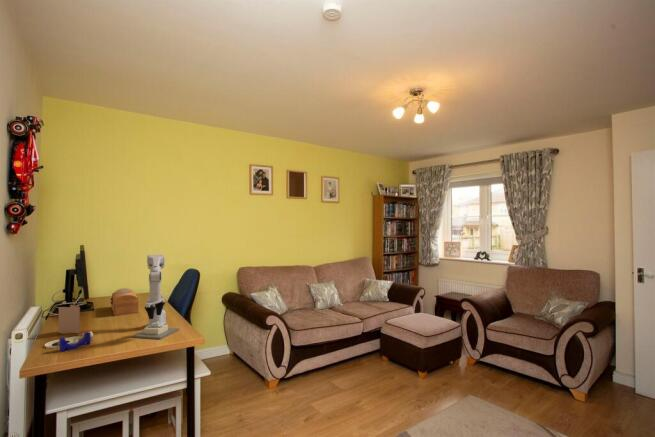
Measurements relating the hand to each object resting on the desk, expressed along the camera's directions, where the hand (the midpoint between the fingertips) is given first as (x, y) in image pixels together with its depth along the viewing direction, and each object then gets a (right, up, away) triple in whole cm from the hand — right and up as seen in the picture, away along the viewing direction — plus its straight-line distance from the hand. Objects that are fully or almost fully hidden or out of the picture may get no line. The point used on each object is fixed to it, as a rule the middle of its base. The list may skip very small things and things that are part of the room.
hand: (155, 316), depth 189 cm
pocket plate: (+1, -9, 0) cm, 9 cm away
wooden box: (-51, -11, +53) cm, 74 cm away
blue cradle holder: (-30, -10, -21) cm, 37 cm away
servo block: (+1, -8, 0) cm, 8 cm away
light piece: (-38, -10, -14) cm, 42 cm away
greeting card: (-51, -10, +2) cm, 52 cm away
